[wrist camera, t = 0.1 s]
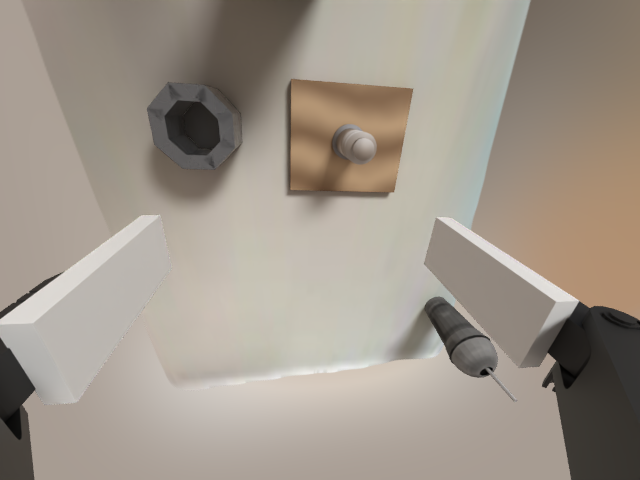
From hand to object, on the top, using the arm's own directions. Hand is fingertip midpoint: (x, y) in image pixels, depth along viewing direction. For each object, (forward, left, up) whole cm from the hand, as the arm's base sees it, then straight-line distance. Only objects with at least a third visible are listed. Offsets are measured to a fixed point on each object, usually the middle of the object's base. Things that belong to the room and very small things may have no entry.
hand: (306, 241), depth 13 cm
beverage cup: (+29, +30, -28) cm, 50 cm away
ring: (-3, -11, -28) cm, 30 cm away
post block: (-2, +8, -28) cm, 29 cm away
